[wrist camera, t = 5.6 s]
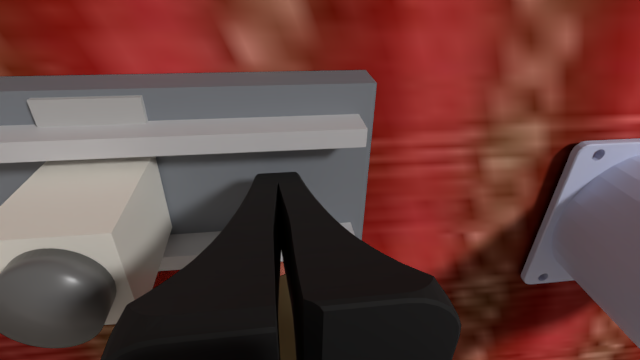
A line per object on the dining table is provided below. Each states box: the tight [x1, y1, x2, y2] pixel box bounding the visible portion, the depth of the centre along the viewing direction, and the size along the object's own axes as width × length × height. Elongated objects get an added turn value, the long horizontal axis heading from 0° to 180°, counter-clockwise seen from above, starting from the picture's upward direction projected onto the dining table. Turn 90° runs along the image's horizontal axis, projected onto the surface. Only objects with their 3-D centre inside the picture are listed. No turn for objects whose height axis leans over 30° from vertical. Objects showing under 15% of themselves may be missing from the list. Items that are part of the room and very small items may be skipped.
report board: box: [0, 70, 377, 271], centre depth 12 cm, size 18×7×4 cm, turn 89°
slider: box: [0, 156, 172, 348], centre depth 10 cm, size 3×3×5 cm
